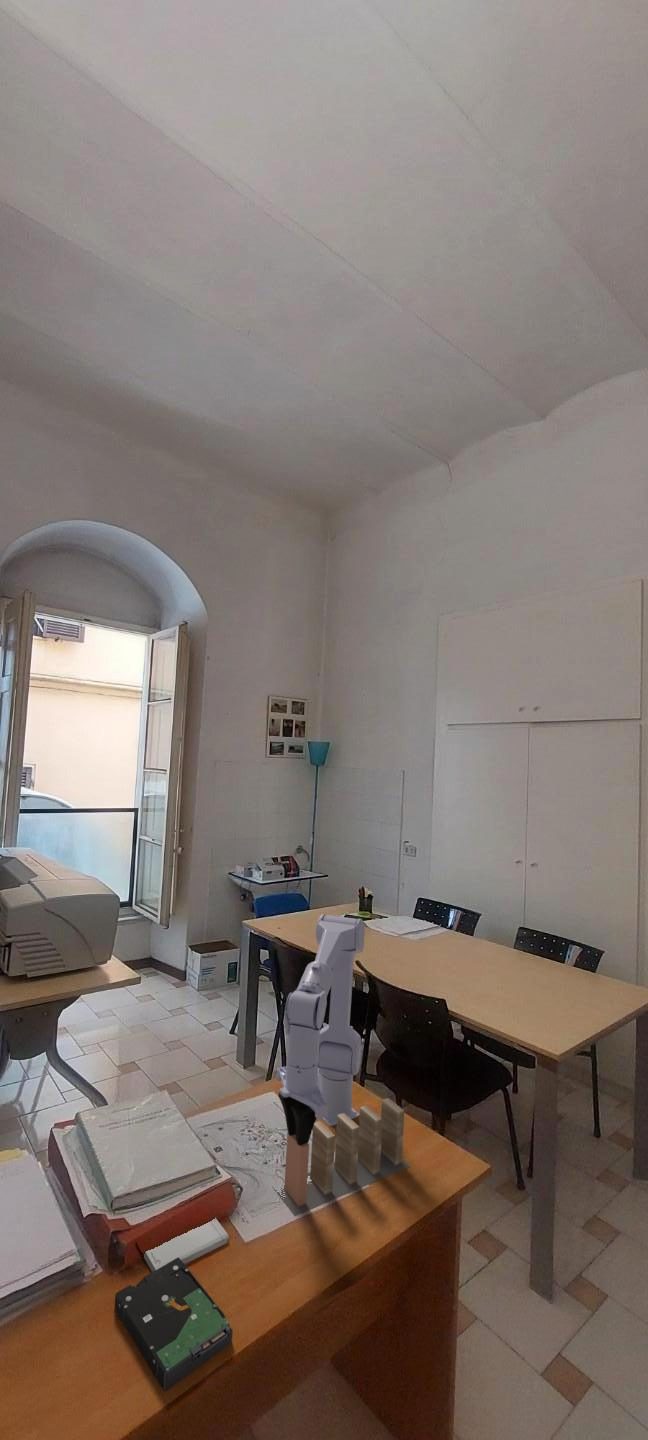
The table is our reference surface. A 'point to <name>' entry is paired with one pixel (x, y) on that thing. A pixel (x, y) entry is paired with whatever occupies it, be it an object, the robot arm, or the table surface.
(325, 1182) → the domino
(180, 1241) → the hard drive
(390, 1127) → the domino
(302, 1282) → the table surface
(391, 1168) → the grey flat rectangular board
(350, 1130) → the domino
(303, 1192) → the domino
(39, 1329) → the table surface
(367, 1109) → the domino
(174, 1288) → the disk drive
